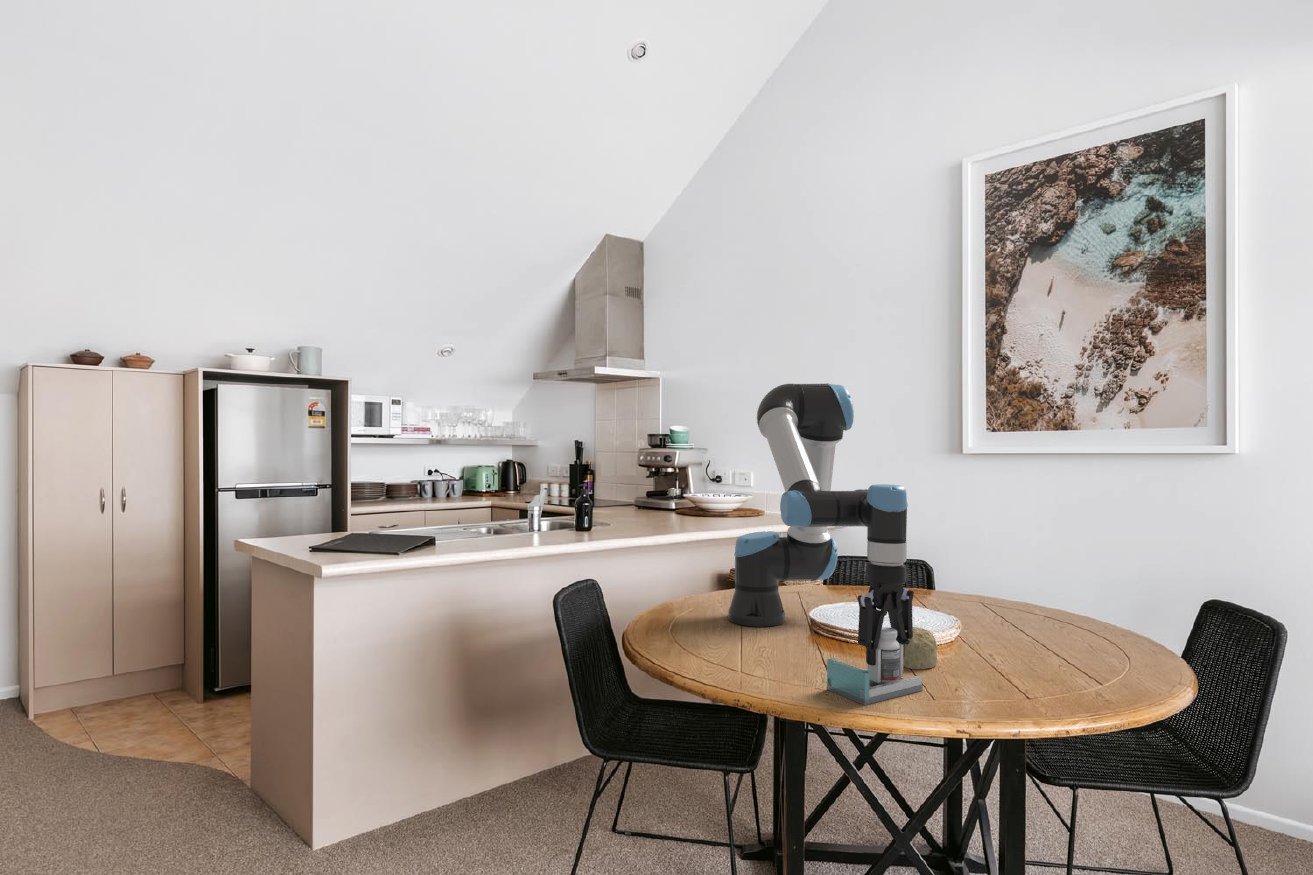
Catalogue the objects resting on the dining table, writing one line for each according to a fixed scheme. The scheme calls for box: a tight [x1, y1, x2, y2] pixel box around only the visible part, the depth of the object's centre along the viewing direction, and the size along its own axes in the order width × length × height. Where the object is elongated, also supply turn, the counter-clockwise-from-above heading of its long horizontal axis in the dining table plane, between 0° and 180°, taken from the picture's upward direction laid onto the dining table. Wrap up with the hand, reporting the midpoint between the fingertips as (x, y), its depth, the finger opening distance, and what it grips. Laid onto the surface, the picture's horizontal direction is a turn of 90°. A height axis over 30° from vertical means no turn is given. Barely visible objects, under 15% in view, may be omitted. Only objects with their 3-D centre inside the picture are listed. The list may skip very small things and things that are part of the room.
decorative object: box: [903, 626, 938, 670], centre depth 169 cm, size 9×10×10 cm
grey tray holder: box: [826, 658, 924, 706], centre depth 152 cm, size 16×10×6 cm, turn 121°
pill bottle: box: [872, 626, 900, 683], centre depth 153 cm, size 6×6×10 cm
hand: (885, 677), depth 153 cm, fingers closed on pill bottle, 6 cm apart
